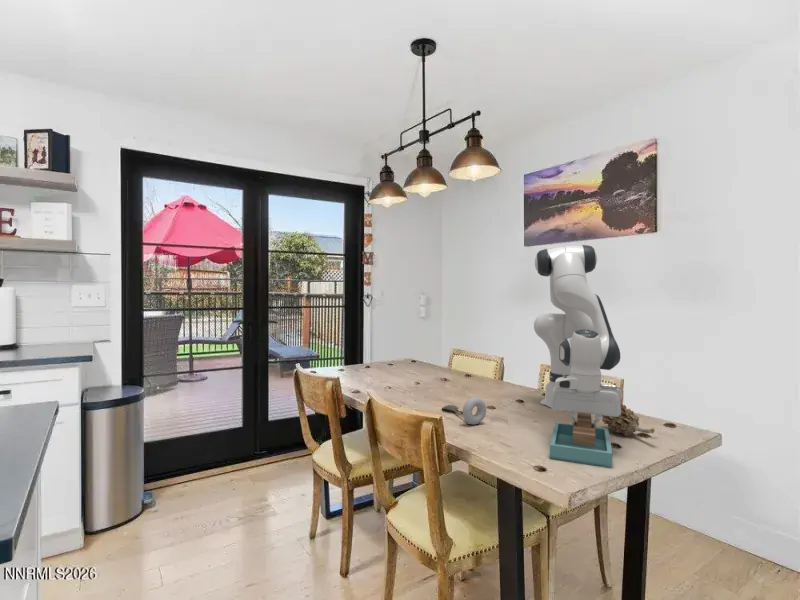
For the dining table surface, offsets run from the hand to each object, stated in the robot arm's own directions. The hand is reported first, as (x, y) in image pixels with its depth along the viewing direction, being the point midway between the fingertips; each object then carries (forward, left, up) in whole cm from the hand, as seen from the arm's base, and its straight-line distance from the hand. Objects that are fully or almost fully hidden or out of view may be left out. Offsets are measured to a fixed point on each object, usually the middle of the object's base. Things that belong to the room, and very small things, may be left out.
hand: (584, 427), depth 140 cm
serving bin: (+1, -1, -7) cm, 7 cm away
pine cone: (-19, +14, -7) cm, 24 cm away
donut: (-10, -37, -7) cm, 38 cm away
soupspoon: (-18, -45, -7) cm, 49 cm away
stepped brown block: (+2, 0, -2) cm, 3 cm away
